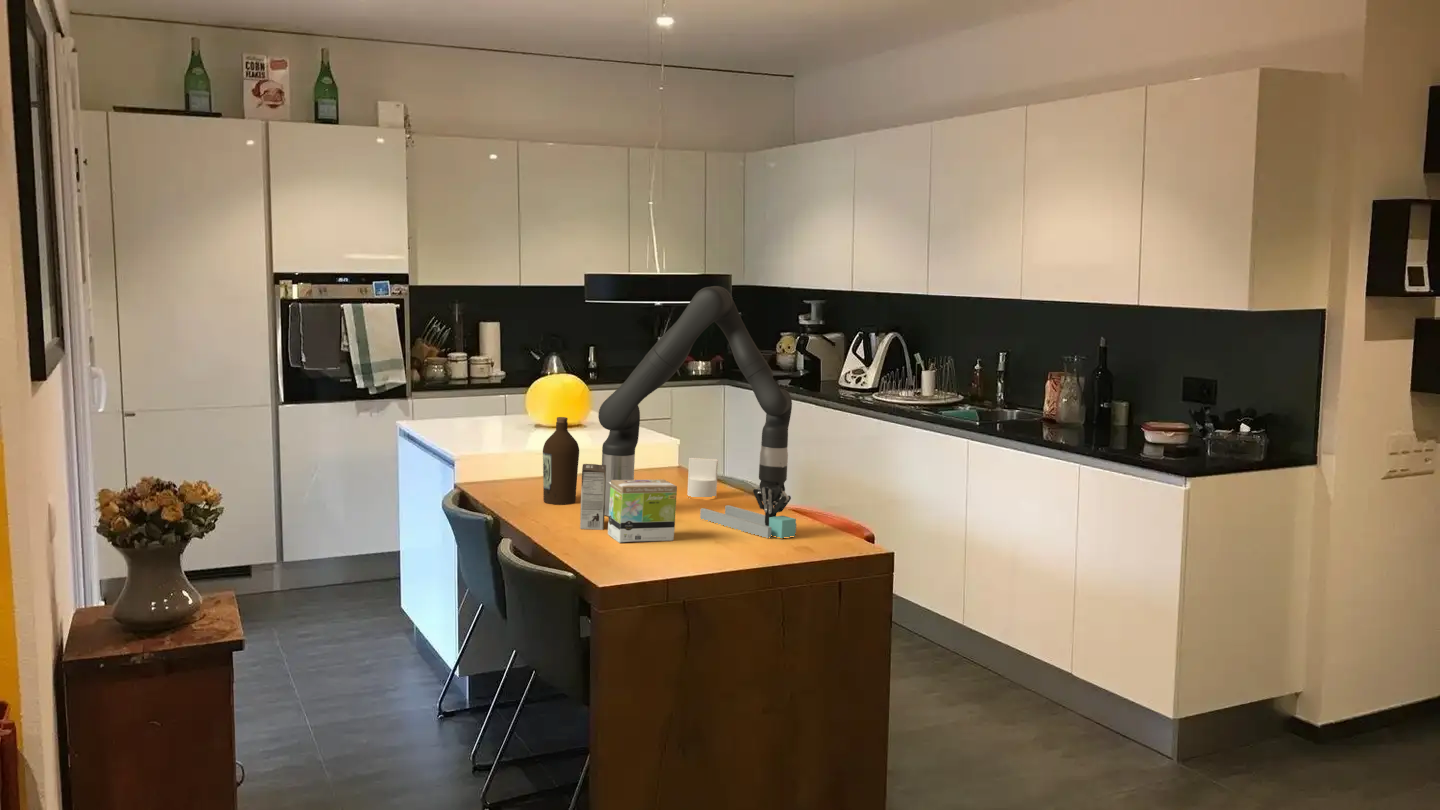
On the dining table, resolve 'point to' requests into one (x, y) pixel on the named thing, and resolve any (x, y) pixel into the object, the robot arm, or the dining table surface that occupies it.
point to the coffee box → (593, 496)
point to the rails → (739, 520)
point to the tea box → (642, 510)
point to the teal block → (782, 526)
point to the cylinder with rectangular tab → (702, 477)
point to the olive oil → (560, 466)
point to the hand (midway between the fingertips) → (770, 526)
